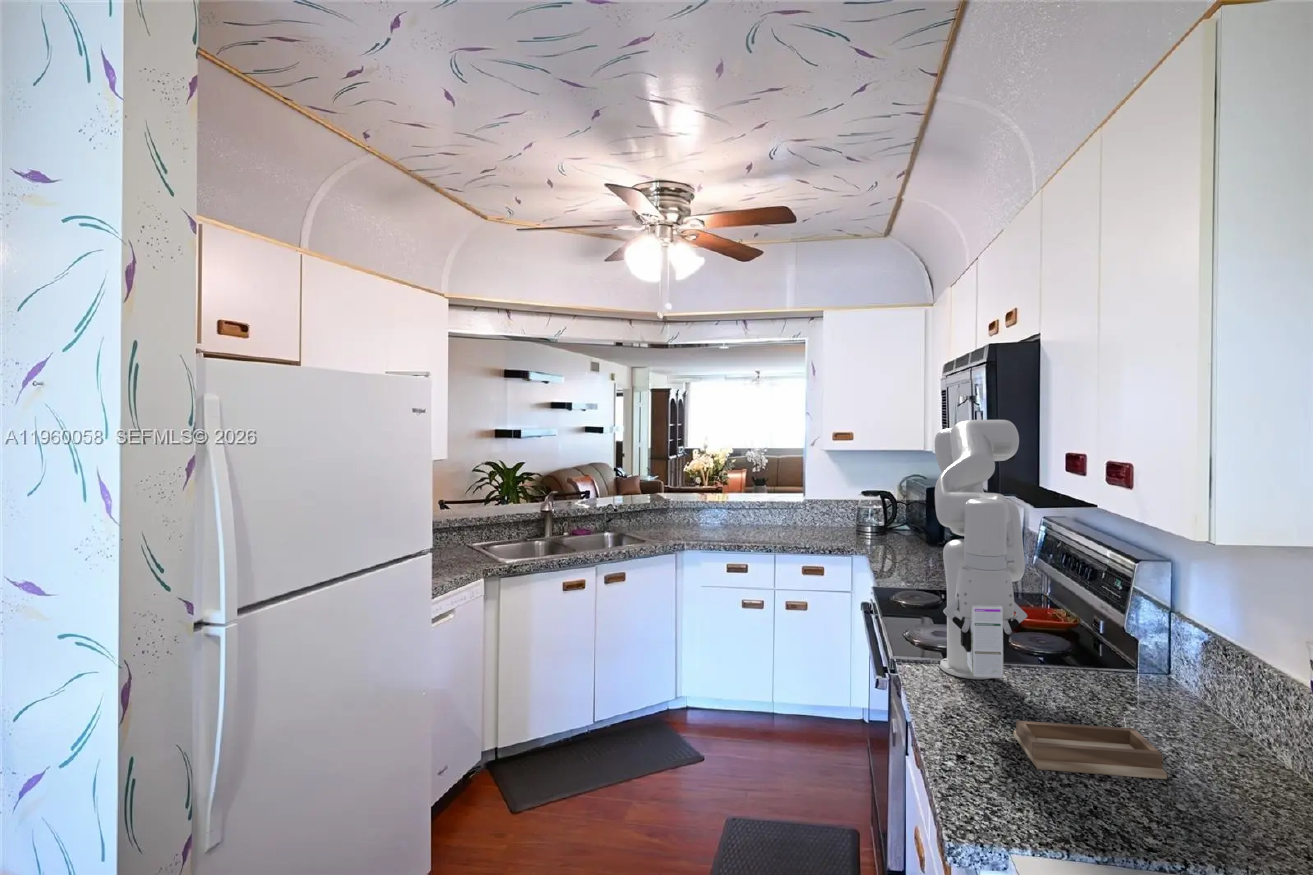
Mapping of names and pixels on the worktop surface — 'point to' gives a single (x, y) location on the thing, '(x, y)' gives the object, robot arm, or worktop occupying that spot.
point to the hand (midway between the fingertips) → (984, 649)
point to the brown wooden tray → (1089, 749)
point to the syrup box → (986, 641)
